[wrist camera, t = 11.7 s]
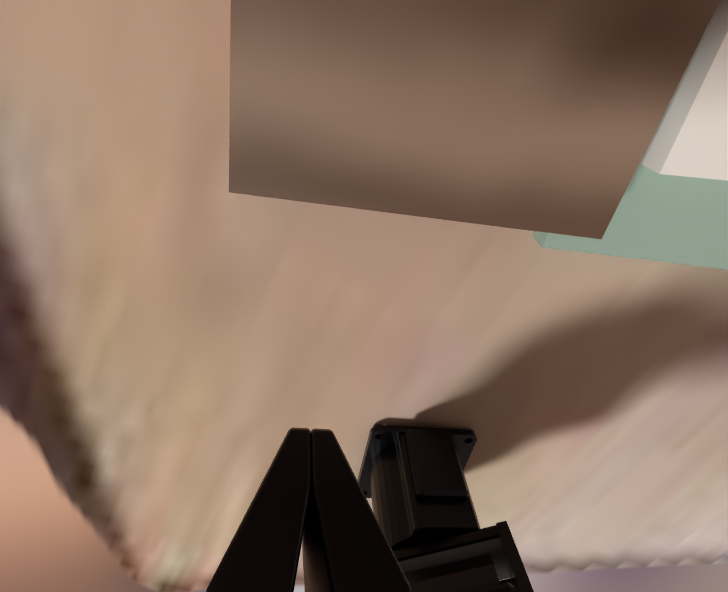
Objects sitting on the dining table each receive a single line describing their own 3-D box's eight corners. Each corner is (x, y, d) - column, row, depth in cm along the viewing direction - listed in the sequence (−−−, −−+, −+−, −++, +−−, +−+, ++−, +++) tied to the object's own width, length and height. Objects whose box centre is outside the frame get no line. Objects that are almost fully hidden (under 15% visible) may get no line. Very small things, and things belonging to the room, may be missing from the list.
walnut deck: (566, 209, 20) (601, 239, 18) (241, 164, 18) (229, 192, 15) (746, -209, 13) (846, -256, 11) (254, -367, 11) (234, -474, 8)
